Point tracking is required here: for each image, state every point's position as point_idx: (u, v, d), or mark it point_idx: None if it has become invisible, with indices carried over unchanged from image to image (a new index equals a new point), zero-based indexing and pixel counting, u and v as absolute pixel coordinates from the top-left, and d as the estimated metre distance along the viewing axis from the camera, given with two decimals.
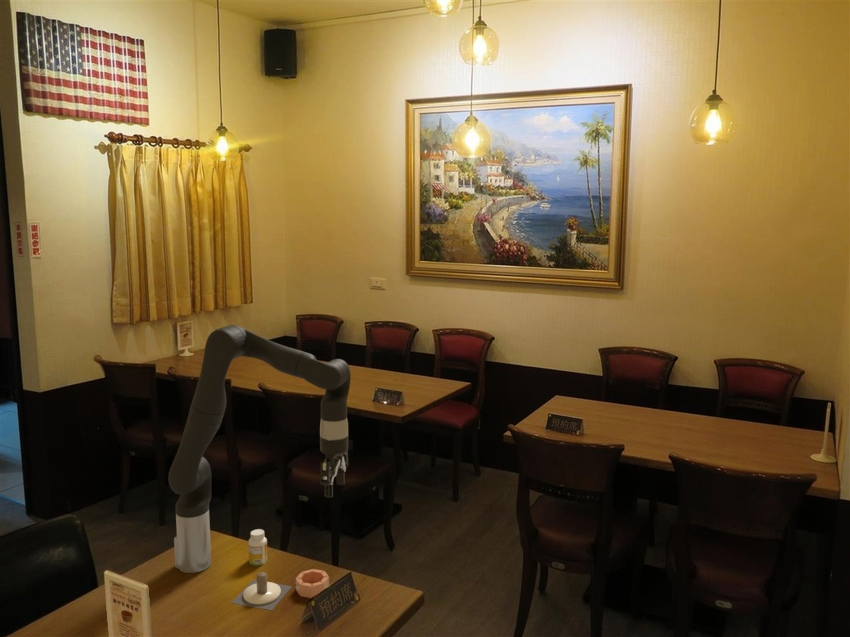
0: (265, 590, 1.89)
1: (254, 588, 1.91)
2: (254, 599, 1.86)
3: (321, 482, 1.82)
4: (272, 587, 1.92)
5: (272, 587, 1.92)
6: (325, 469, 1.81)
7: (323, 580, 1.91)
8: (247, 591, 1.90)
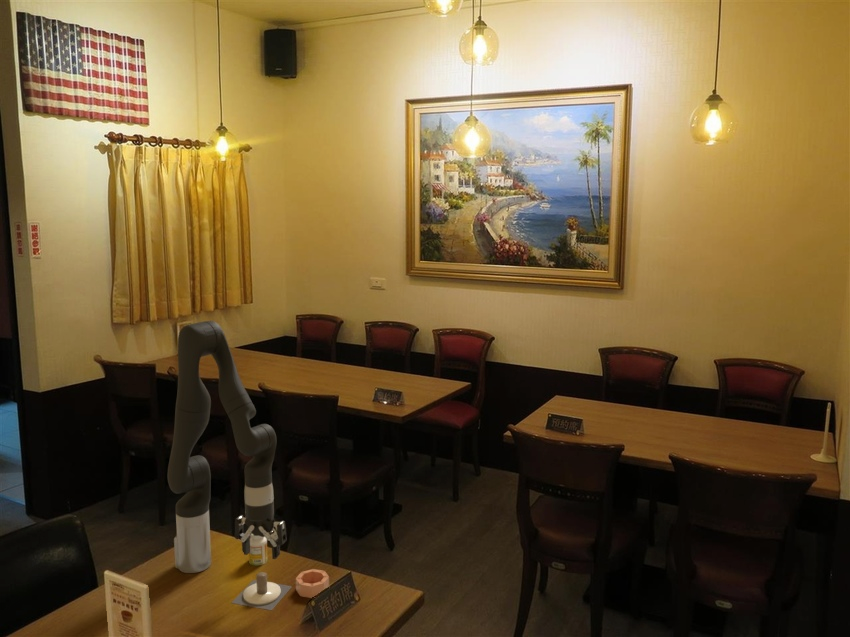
0: (265, 590, 1.89)
1: (254, 588, 1.91)
2: (254, 599, 1.86)
3: (283, 542, 1.84)
4: (272, 587, 1.92)
5: (272, 587, 1.92)
6: (283, 527, 1.85)
7: (323, 580, 1.91)
8: (247, 591, 1.90)
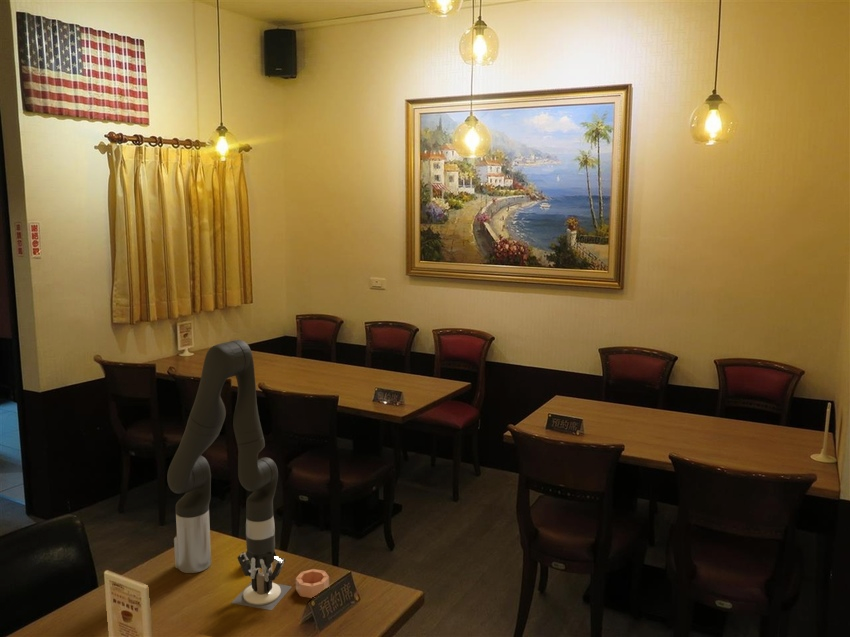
0: None
1: None
2: (254, 599, 1.86)
3: None
4: (272, 587, 1.92)
5: (272, 587, 1.92)
6: (282, 566, 1.87)
7: (323, 580, 1.91)
8: (247, 591, 1.90)
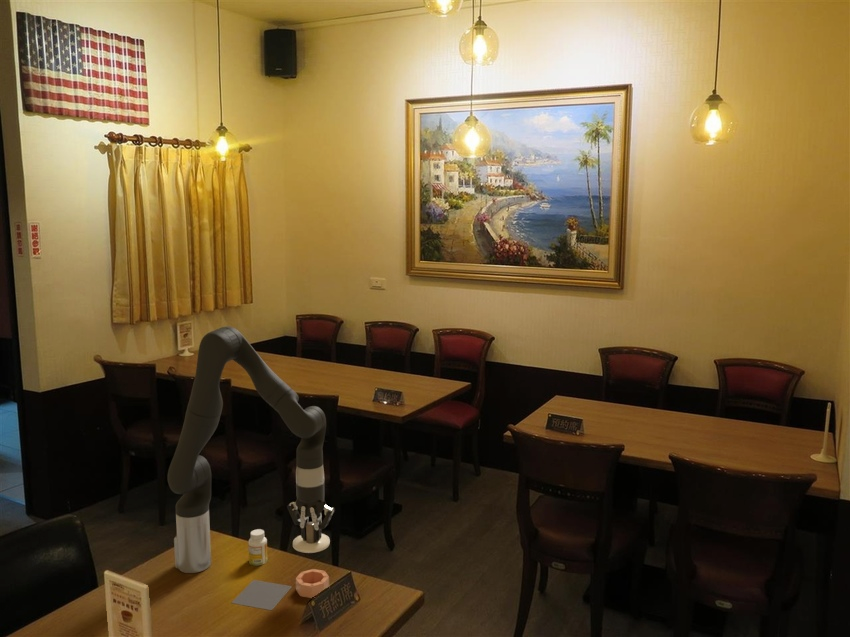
0: None
1: None
2: (304, 547, 1.86)
3: None
4: None
5: (321, 537, 1.93)
6: (331, 514, 1.88)
7: (323, 580, 1.91)
8: (296, 540, 1.90)
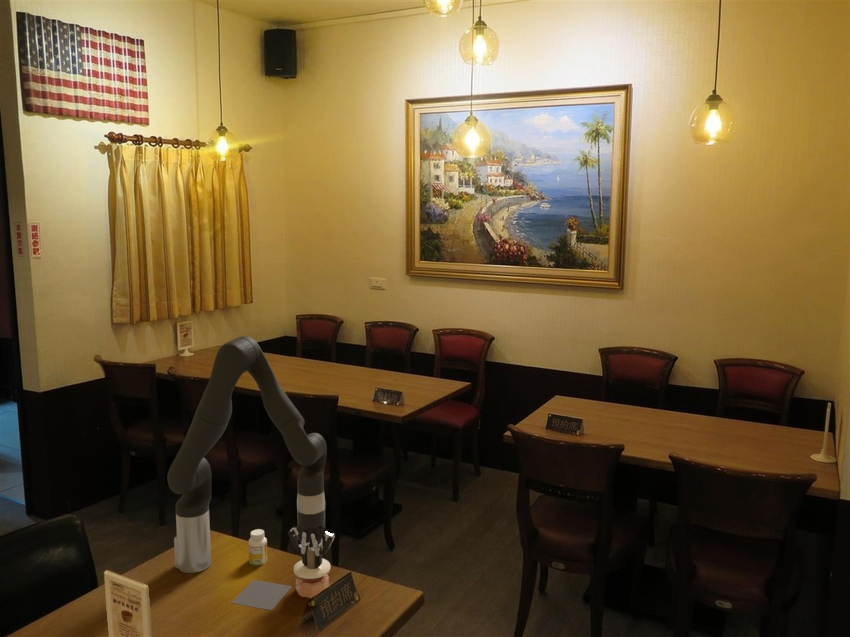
0: None
1: None
2: (305, 573, 1.88)
3: (325, 553, 1.89)
4: None
5: (322, 562, 1.94)
6: (332, 540, 1.89)
7: (323, 580, 1.91)
8: (297, 566, 1.92)
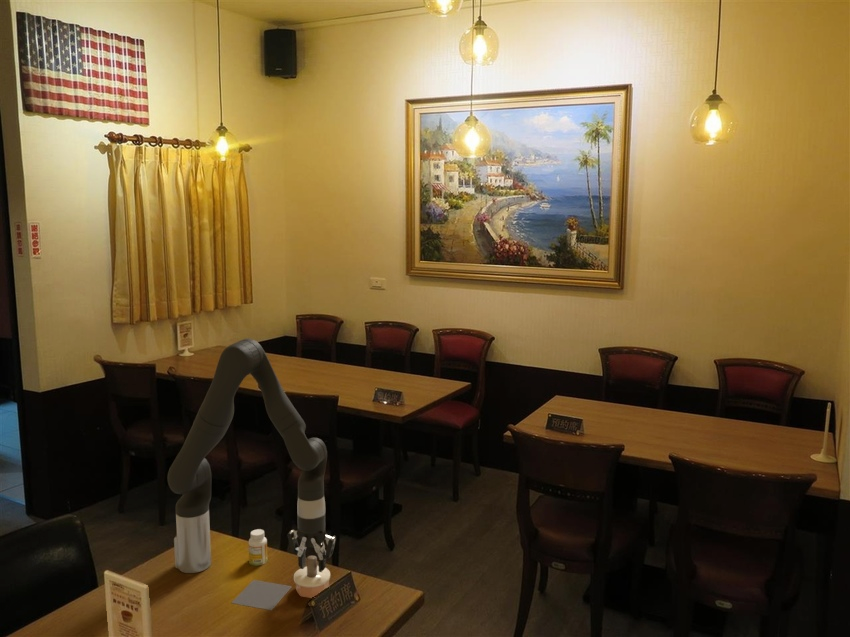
0: (315, 573, 1.91)
1: (304, 571, 1.94)
2: (305, 582, 1.88)
3: (329, 556, 1.89)
4: None
5: None
6: (334, 543, 1.89)
7: None
8: (297, 574, 1.92)
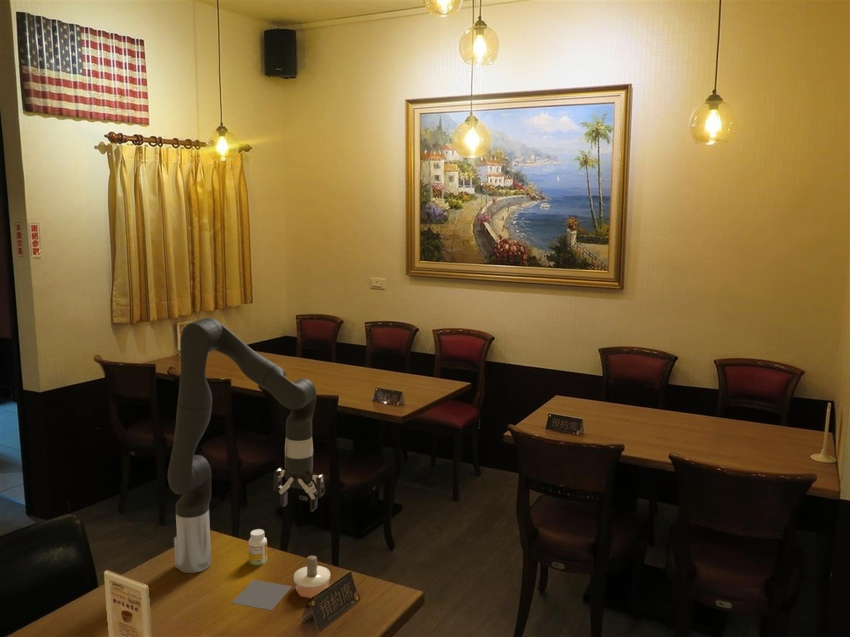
0: (315, 573, 1.91)
1: (304, 571, 1.94)
2: (305, 582, 1.88)
3: (321, 495, 1.88)
4: (321, 570, 1.94)
5: (321, 570, 1.94)
6: (322, 481, 1.89)
7: None
8: (297, 574, 1.92)
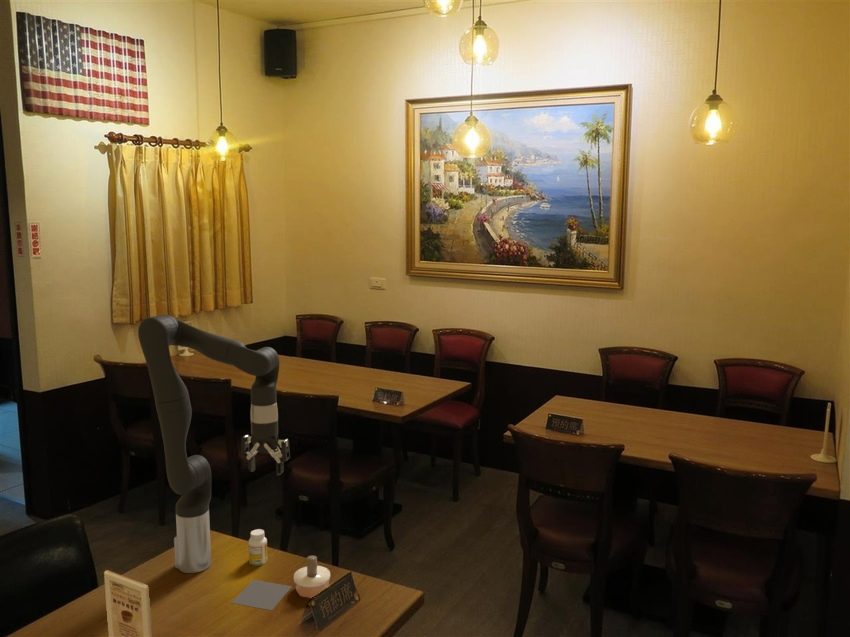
0: (315, 573, 1.91)
1: (304, 571, 1.94)
2: (305, 582, 1.88)
3: (286, 459, 1.95)
4: (321, 570, 1.94)
5: (321, 570, 1.94)
6: (287, 445, 1.96)
7: None
8: (297, 574, 1.92)
